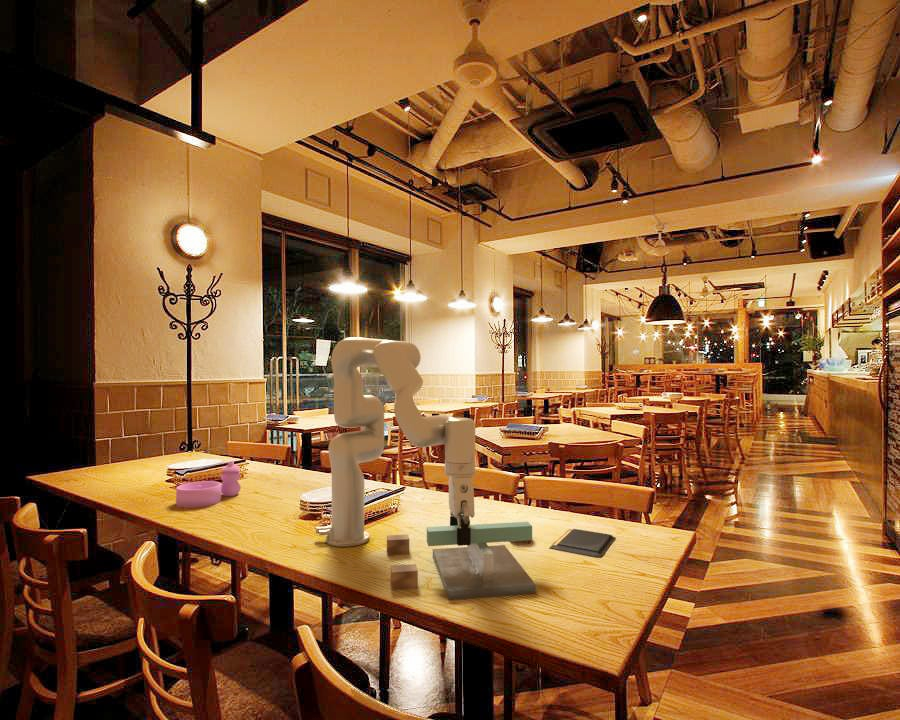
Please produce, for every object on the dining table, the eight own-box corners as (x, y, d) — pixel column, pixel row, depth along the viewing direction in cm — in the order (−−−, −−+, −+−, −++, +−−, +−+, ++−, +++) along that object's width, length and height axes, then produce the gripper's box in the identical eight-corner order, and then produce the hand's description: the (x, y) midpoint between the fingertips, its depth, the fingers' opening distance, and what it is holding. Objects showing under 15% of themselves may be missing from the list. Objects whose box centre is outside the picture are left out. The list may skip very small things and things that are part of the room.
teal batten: (532, 540, 124) (532, 525, 124) (428, 546, 120) (428, 531, 120) (527, 535, 127) (527, 521, 128) (426, 541, 123) (426, 527, 123)
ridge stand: (448, 600, 109) (448, 563, 109) (432, 556, 134) (432, 526, 135) (536, 593, 112) (536, 557, 112) (504, 552, 138) (504, 523, 138)
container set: (192, 510, 179) (192, 473, 180) (167, 504, 187) (167, 469, 187) (250, 495, 201) (251, 462, 201) (226, 490, 208) (226, 459, 209)
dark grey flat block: (600, 554, 133) (546, 543, 141) (600, 561, 133) (546, 550, 141) (618, 533, 150) (569, 525, 158) (618, 539, 150) (569, 531, 158)
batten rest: (391, 590, 114) (391, 572, 114) (386, 549, 139) (386, 535, 140) (417, 588, 115) (417, 570, 115) (408, 548, 140) (408, 534, 140)
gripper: (483, 475, 115) (482, 549, 115) (467, 461, 132) (467, 526, 132) (451, 476, 114) (450, 551, 114) (439, 462, 131) (439, 528, 131)
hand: (459, 538), depth 123 cm, fingers open, 9 cm apart
